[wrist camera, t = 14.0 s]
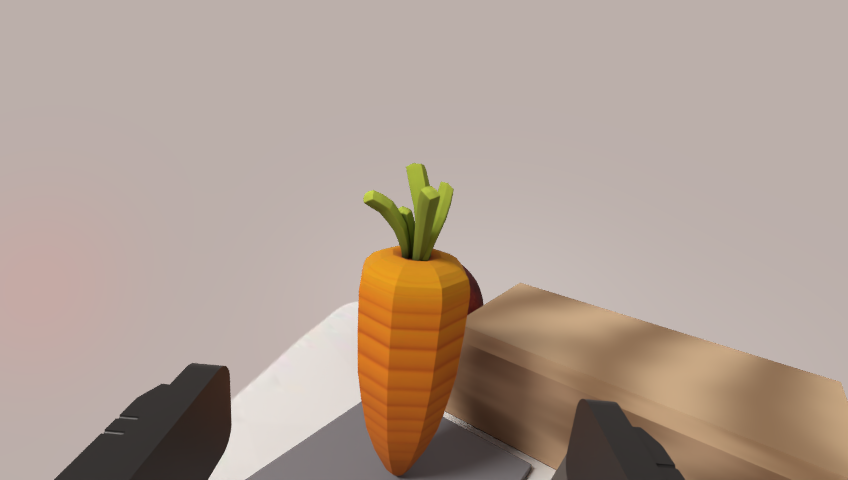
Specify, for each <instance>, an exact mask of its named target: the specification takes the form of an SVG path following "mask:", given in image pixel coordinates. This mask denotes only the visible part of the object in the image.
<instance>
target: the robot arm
mask: <svg viewBox="0 0 848 480" xmlns="http://www.w3.org/2000/svg"><path fill="white" fill-rule="evenodd" d="M230 432H231V398H230V374H229V370H228V368H227V367H226V366H219V365H207V364H196V363H192V364H190V365H188V366H187V367H186V368H185V369H184V370H183V371H182V372H181V373H180V374H179V376H178V377H177V378H176V379H175V380H174V381H173V382H172V383H171V384H170V385H167V384H161V385H159V386H157V387H155V388H154V389H152V390H150V391H148V392H147V393H145V394H143V395H141V396H140V397H138V398H137V399H136V400H134V401H133V402H132V403H131V404H130V405H129V406H128V407H127V408H126V410H125V411H123V413H122V414H120V417H119V419H115V420H114V421H113V422H112V423H111V424H110V425H109V426H108V427H107V428H106V429H105V432H104V434H100V435H99V436H98V437H97V438H96V439H95V440H94V441H93V442H92V443H91V444H90V445H89V446H88V447H87V448H86V449H85V450H84V451H83V452H82V453H81V454H80V455H79V456H78V457H77V458H76V459H75V460H74V461H73V462H72V463H71V464H70V465H69V466H67V468H66V469H64V470H63V471H62V472H61V473H60V474H59V475H58V476H57V477H56V478H55V479H54V480H208V478H209V477H210V475H211V473H212V472H213V470H214V469H215V467H216V465H217V464H218V462H219V460H220V459H221V457H222V455H223V453H224V451H225V449H226V447H227V444H228V441H229V437H230ZM566 475H567V480H685V478H684V477H683V475H682V474H681V473H680V471H679V470H678V469H676V468H675V464H674V462H673V461H672V459H671V458H670V456H669V455H668V453H667V452H666V450H665V449H664V448H663V446H662V445H661V444H660V443H659V442H658V441H656V440H655V439H654V438H653V437H652V436H651V435H649V434H648V433H647V432H646V431H645V430H644V429H642V428H641V427H632V425H631V423H630V422H629V420H628V419H627V417H626V415H625V414H624V412H623V411H622V409H621V407H620V406H619V405H618V403H616V402H613V401H602V400H591V399H581V400H580V401H579V402H578V405H577V408H576V413H575V417H574V422H573V426H572V431H571V435H570V440H569V445H568V449H567V454H566Z"/></svg>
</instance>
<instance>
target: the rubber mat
mask: <svg viewBox="0 0 848 480" xmlns="http://www.w3.org/2000/svg"><path fill="white" fill-rule="evenodd" d="M530 468H531V464H529V463H528V462H526V461H524V460H522V459H520V458H518V457H516V456H515V455H513V454H511V453H509V452H507V451H505V450H503V449H502V448H500V447H498V446H496V445H494V444H492V443H490V442H489V441H487V440H485V439H483V438H481V437H479V436H477V435H476V434H474V433H472V432H470V431H468V430H466V429H464V428H463V427H461V426H459V425H457V424H455V423H453V422H451V421H450V420H448V419H446V418H444V417H442V419H441V422H440V425H439V427H438V430H437V431H436V433H435V435H434V436H433V438H432V440H431V441H430V443H429V445H428V446H427V448H426V450H425V451H424V452H423V454H422V455H421V456H420V457H419V459H418V460H417V461H416V462H415V463H414V465H413V466H412V467H411V468H410V469H409V470H408V471H407V472H406V473H404V474H403V475H400V476H395V475H393V474H391V473H390V472H389V471H388V470H386V468H385V467H384V465H383V463H382V461H381V460H380V458H379V456H378V455H377V453H376V451H375V449H374V447H373V444H372V441H371V439H370V436H369V433H368V431H367V428H366V423H365V418H364V412H363V406H362V402H360V403H359V404H357V405H356V406H354V407H353V408H351V409H350V410H348V411H347V412H345V413H344V414H342V415H341V416H339V417H338V418H336V419H335V420H333V421H332V422H330V423H329V424H327V425H326V426H324V427H323V428H321V429H320V430H319V431H317V432H316V433H314V434H313V435H311V436H310V437H308V438H307V439H305V440H304V441H302V442H301V443H299V444H298V445H296V446H295V447H293V448H292V449H290V450H289V451H287V452H286V453H284V454H283V455H281V456H280V457H278V458H277V459H275V460H274V461H272V462H271V463H269V464H268V465H266V466H265V467H263V468H262V469H260V470H259V471H257V472H256V473H254V474H253V475H251V476H250V477H249V478H247V479H246V480H524V479H525V477H526V476H527V474H528V473H529V471H530Z"/></svg>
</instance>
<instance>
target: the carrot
mask: <svg viewBox="0 0 848 480" xmlns="http://www.w3.org/2000/svg"><path fill="white" fill-rule="evenodd" d="M406 169H407V174H408V180H409V186H410V190H411V195H412V200H413V204H414V213H415V221H414V217H413V214H412V211H411V210H410V209H408V208H406V207H404V206H402V207H400V208H399V209H398V208H397V207H396V205H395V204H394V202H393V201H392V200H390V199H388V198H387V197H386V196H384V195H383V194H381V193H379V192H376V191H374V190H373V191H368V192H367V193H366V194H365V195H364V198H363V199H364V203H365V204H367V205H368V206H370V207H371V208H373V209H375V210H376V211H378V212H380V213H381V215H382V216H383V217H384V218H385V219H386V221H387V222H388V223H389V225H390V226H391V227H392V228H393V230H394V232H395V234H396V236H397V239H398V241H399V245H400V246H395V247H391V248H387V249H383V250H380V251H376V252H374V253H372V254H371V255H370V256H369V257H367V258H366V260H365V263H364V265H363V270H362V276H361V282H360V288H359V308H358V376H359V384H360V392H361V400H362V406H363V412H364V418H365V423H366V428H367V431H368V433H369V436H370V439H371V441H372V444H373V447H374V449H375V451H376V453H377V455H378V456H379V458H380V460H381V461H382V463H383V465H384V467H385V468H386V470H388V471H389V472H390V473H391V474H393V475H395V476H400V475H403V474H404V473H406V472H407V471H408V470H409V469H410V468H411V467H412V466H413V465H414V463H415V462H416V461H417V460H418V459H419V457H420V456H421V455H422V454H423V452H424V451H425V450H426V448H427V446H428V445H429V443H430V441H431V440H432V438H433V436H434V435H435V433H436V431H437V430H438V427H439V425H440V422H441V419H442V417H443V414H444V411H445V409H446V406H447V403H448V400H449V397H450V394H451V391H452V388H453V385H454V382H455V379H456V375H457V370H458V365H459V360H460V354H461V349H462V344H463V339H464V332H465V326H466V320H467V313H468V307H469V300H470V285H469V279H468V277H467V275H466V273H465V270H464V268H463V266H462V265H461V263H460V262H459V261H458V260H457V258H455V257H454V256H452V255H450V254H448V253H445V252H442V251H439V250H436V249H433V247H434V244H435V242H436V240H437V238H438V236H439V233H440V231H441V229H442V227H443V224H444V222H445V220H446V218H447V214H448V211H449V208H450V205H451V201H452V196H453V188H452V187H451V186H450V185H449V184H448V183H444V182H441V183H440V186H439V189H438V192H437V190H435V189H434V188H433V187H432V186H430V185H429V180H428V176H427V172H426V169H425V166H424V165H422V164H416V163H413V164H411V165H409V166H407V167H406Z"/></svg>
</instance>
